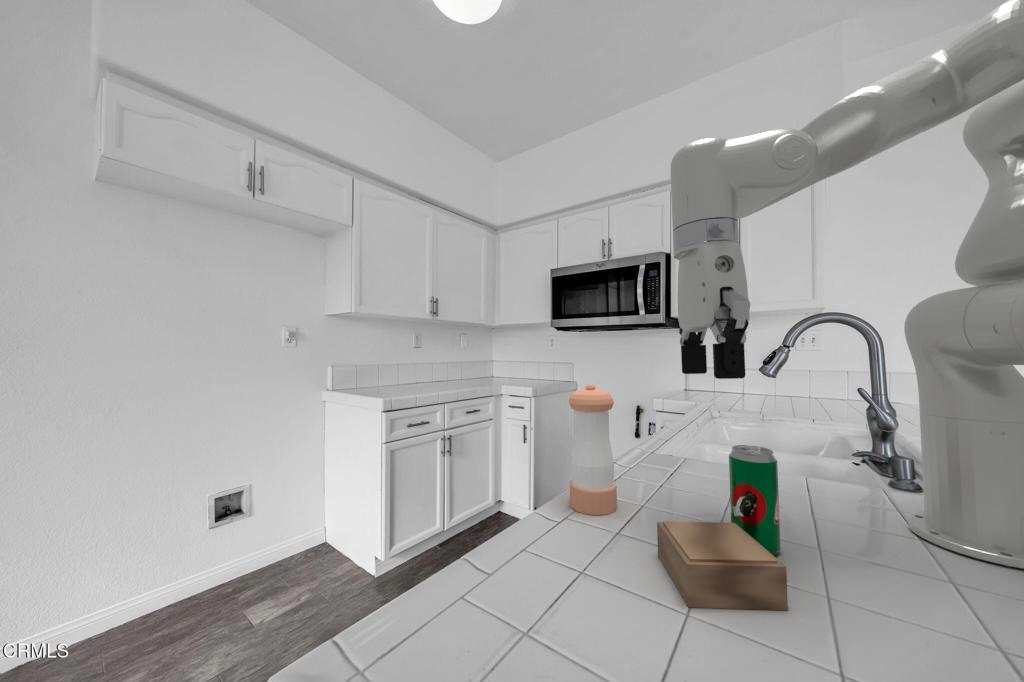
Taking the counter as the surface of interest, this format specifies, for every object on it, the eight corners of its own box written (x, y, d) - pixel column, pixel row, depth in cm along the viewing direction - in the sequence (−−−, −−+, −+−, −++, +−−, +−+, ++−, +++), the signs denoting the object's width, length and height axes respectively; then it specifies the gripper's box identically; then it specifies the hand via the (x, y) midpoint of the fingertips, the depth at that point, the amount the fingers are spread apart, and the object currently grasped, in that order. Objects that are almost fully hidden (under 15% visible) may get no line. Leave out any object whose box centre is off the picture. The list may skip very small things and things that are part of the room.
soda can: (789, 560, 43) (785, 455, 43) (741, 556, 44) (737, 453, 44) (768, 539, 48) (765, 444, 48) (725, 535, 49) (722, 443, 49)
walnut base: (736, 557, 44) (735, 520, 44) (787, 610, 35) (786, 563, 35) (657, 555, 44) (656, 519, 44) (688, 607, 35) (687, 561, 35)
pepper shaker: (616, 498, 62) (614, 382, 62) (617, 517, 55) (613, 386, 55) (572, 495, 64) (570, 382, 64) (567, 512, 57) (564, 386, 57)
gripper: (778, 216, 39) (785, 380, 39) (705, 258, 56) (710, 371, 56) (704, 220, 40) (710, 381, 39) (654, 260, 57) (658, 372, 56)
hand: (710, 375), depth 47 cm, fingers open, 9 cm apart
